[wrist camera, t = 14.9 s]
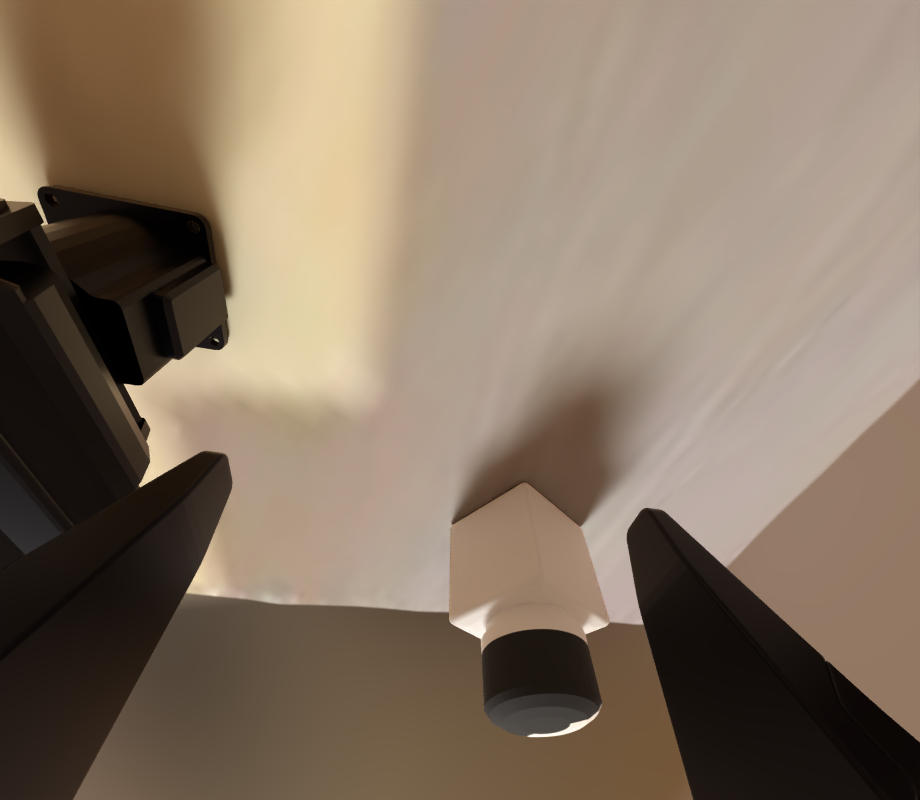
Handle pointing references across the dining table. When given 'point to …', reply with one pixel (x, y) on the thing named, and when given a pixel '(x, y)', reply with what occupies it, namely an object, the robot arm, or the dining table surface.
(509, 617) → the medicine bottle
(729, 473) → the dining table surface
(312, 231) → the dining table surface
